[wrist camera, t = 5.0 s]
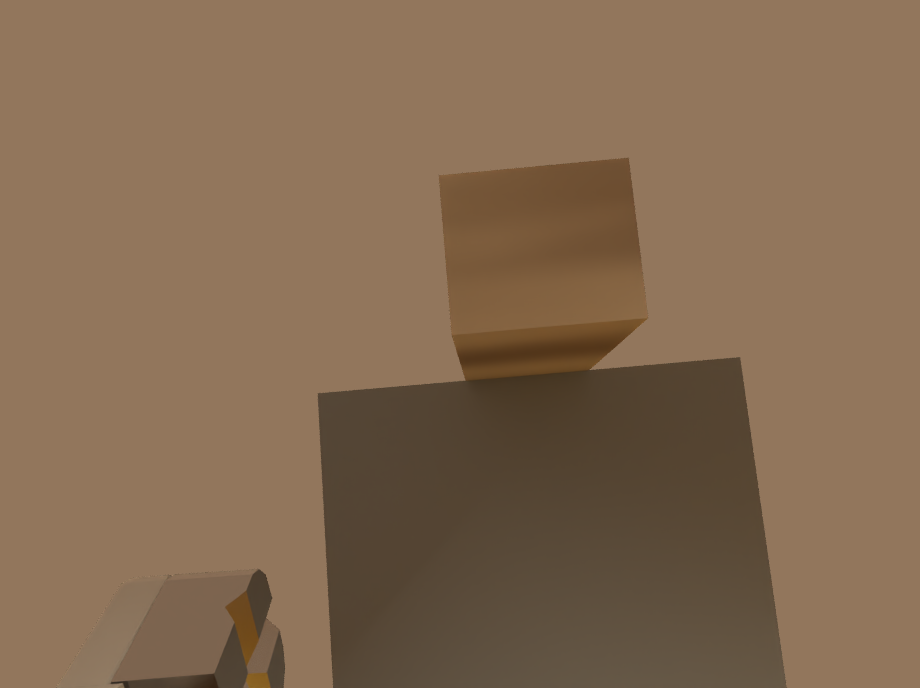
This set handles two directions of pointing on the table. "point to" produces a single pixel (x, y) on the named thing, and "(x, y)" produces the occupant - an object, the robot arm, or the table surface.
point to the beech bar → (541, 266)
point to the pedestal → (548, 533)
